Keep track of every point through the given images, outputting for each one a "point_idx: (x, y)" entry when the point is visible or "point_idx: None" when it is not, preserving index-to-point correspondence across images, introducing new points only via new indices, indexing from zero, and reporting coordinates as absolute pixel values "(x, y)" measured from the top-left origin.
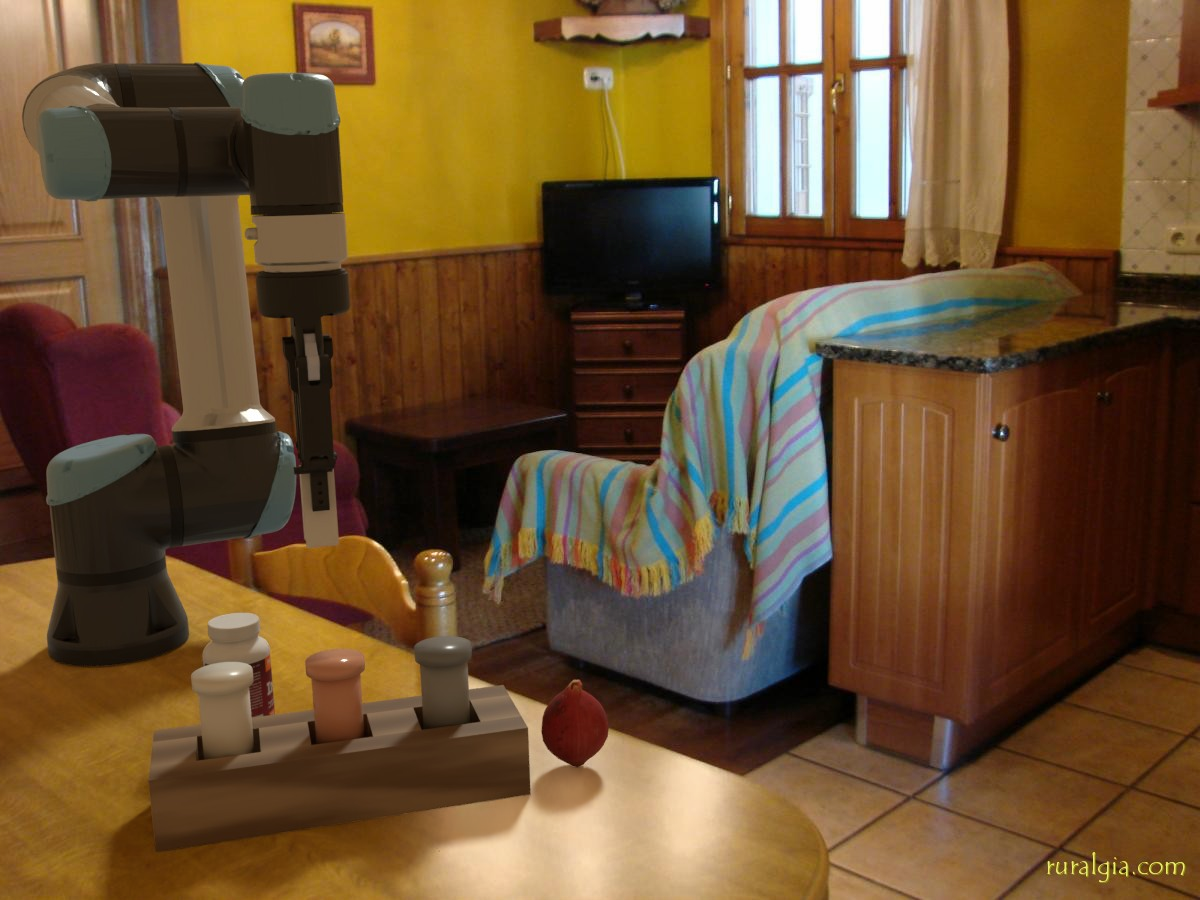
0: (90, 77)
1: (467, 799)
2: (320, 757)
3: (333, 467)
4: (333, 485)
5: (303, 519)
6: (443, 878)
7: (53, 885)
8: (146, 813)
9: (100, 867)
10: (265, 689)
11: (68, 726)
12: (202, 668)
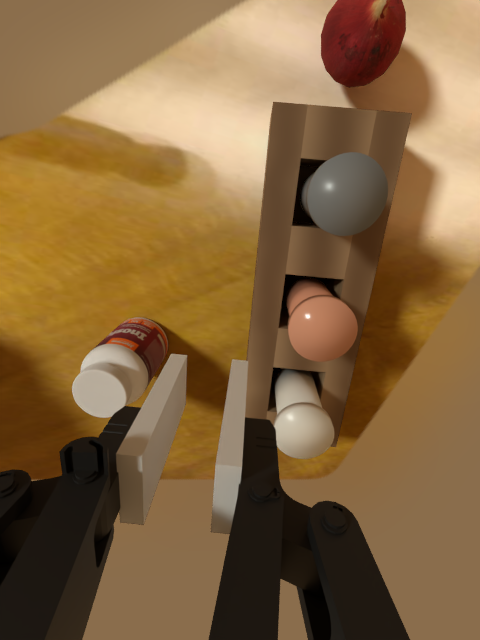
0: None
1: None
2: (362, 330)
3: (342, 508)
4: (242, 439)
5: (177, 427)
6: (474, 245)
7: (336, 460)
8: None
9: None
10: (146, 340)
11: None
12: (283, 448)
